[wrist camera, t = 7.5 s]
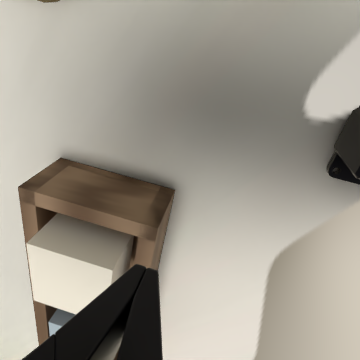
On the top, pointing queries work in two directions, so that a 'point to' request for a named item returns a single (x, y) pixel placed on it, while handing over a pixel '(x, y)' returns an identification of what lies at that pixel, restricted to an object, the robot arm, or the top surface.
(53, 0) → the cork
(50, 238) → the cream block
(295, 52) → the top surface
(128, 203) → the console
